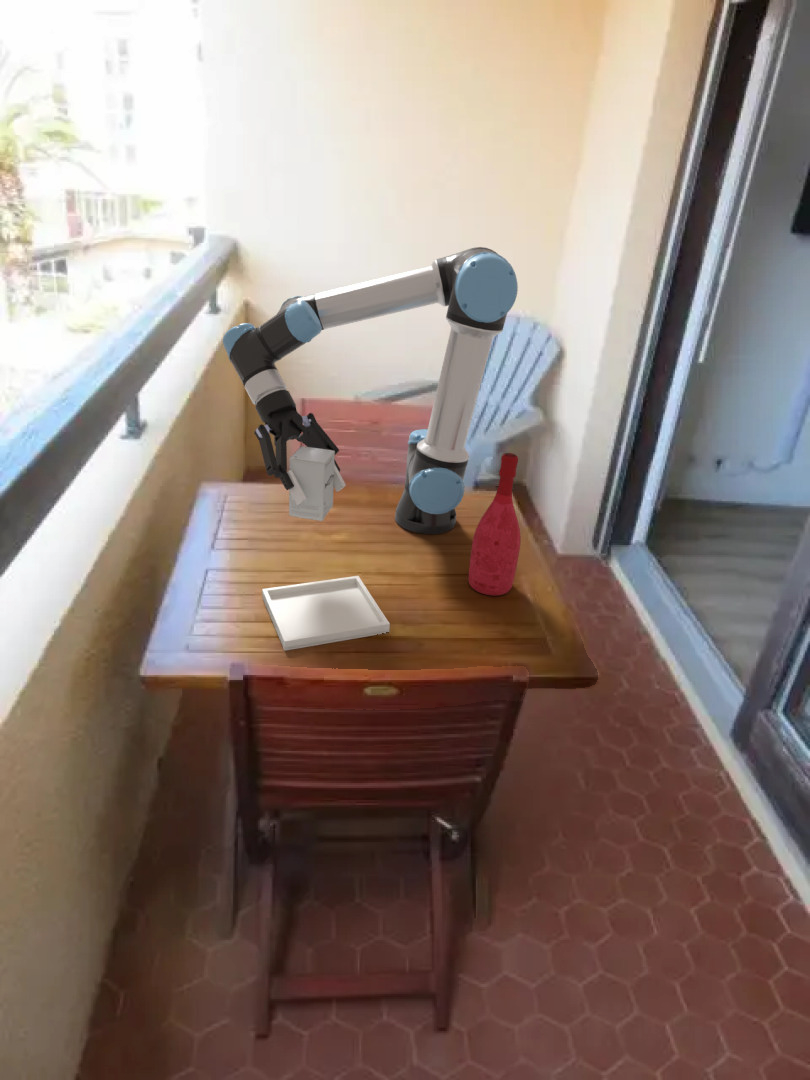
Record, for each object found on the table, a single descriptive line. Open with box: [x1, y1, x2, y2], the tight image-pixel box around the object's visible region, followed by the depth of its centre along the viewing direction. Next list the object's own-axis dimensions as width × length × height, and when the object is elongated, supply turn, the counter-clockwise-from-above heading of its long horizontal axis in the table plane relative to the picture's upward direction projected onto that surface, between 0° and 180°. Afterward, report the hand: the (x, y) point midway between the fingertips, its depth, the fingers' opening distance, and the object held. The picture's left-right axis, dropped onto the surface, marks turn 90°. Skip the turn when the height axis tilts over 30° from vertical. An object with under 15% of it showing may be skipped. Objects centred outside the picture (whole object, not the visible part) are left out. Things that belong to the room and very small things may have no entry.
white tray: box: [261, 575, 391, 651], centre depth 138 cm, size 20×18×2 cm
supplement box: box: [288, 445, 336, 522], centre depth 143 cm, size 7×7×13 cm
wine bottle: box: [468, 452, 521, 596], centre depth 146 cm, size 10×10×30 cm
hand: (322, 495), depth 142 cm, fingers closed on supplement box, 10 cm apart
